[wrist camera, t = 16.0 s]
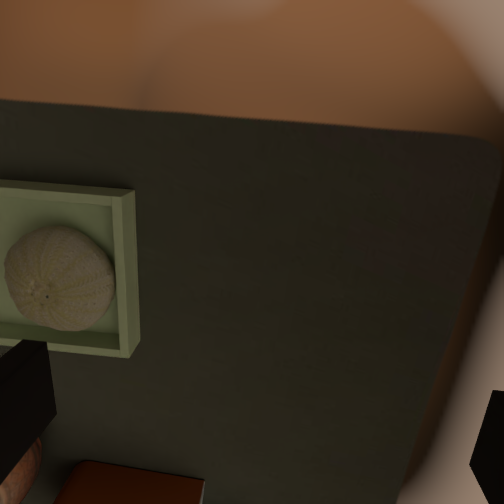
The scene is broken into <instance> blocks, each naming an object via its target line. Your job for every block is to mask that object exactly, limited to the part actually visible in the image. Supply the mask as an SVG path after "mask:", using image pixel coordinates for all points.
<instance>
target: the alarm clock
mask: <svg viewBox="0 0 504 504" xmlns="http://www.w3.org/2000/svg"><path fill="white" fill-rule="evenodd" d="M204 484H205V481H204V480H198V479H192V478H187V477H181V476H175V475H169V474H163V473H158V472H152V471H146V470H140V469H134V468H128V467H123V466H117V465H111V464H105V463H99V462H93V461H83V462H80V463H78V464H77V465H76V466H75V467H74V469H73V471H72V472H71V474H70V476H69V477H68V479H67V481H66V482H65V484H64V486H63V487H62V489H61V491H60V492H59V494H58V496H57V497H56V499H55V501H54V503H53V504H202V500H203V492H204Z"/></svg>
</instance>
